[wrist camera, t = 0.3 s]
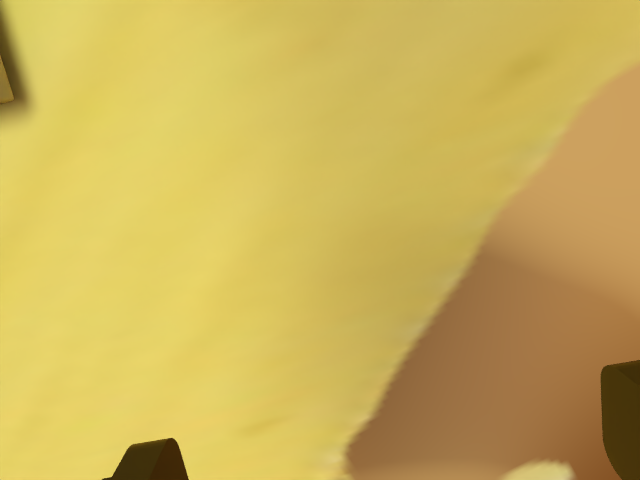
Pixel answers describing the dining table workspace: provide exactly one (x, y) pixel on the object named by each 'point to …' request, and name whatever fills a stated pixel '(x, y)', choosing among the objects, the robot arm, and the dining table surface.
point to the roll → (4, 85)
